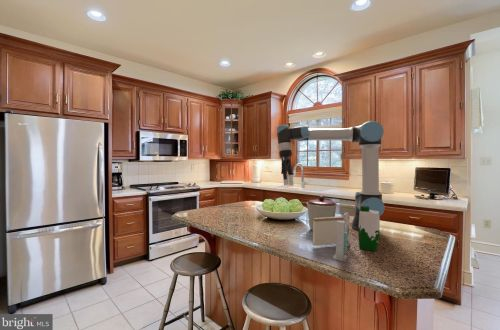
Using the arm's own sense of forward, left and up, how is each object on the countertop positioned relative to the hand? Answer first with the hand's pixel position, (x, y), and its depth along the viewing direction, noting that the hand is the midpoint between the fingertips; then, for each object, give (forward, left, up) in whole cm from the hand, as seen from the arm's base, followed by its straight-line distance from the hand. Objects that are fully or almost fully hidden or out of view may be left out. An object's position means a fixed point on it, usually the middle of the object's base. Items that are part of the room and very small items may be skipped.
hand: (289, 185), depth 151 cm
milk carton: (-40, +21, -27) cm, 53 cm away
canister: (-19, -4, -27) cm, 34 cm away
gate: (-21, +24, -26) cm, 41 cm away
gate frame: (-28, +29, -27) cm, 48 cm away
